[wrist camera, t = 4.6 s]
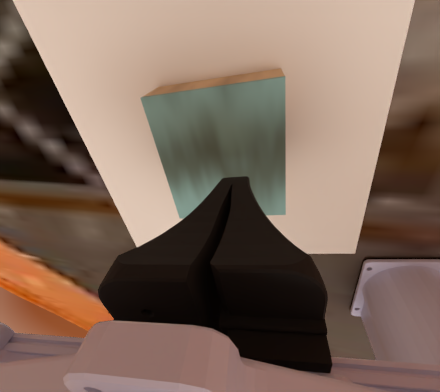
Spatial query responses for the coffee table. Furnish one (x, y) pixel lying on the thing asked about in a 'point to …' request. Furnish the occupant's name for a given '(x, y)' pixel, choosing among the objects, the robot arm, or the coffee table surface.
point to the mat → (223, 67)
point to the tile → (222, 136)
